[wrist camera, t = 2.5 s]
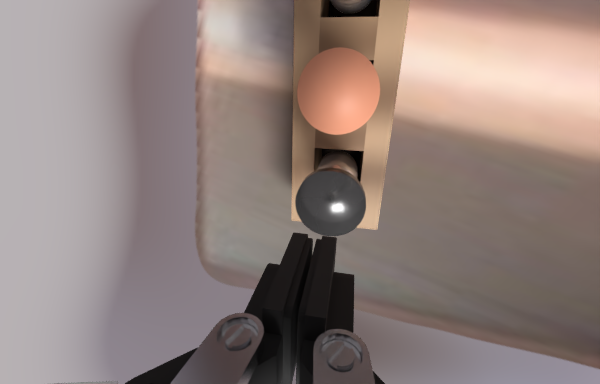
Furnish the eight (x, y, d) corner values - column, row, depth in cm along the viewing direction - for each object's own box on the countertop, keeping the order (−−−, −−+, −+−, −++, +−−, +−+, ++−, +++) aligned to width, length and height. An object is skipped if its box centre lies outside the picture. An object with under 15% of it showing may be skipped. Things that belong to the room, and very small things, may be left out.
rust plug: (317, 56, 20) (297, 47, 13) (376, 57, 19) (385, 47, 13) (314, 116, 21) (296, 132, 15) (369, 118, 20) (374, 136, 14)
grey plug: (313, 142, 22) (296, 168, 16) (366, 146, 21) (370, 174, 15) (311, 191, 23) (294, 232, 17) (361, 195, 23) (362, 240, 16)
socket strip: (309, -71, 20) (295, -114, 16) (411, -78, 19) (427, -126, 15) (302, 197, 28) (291, 220, 24) (374, 204, 27) (377, 229, 23)
